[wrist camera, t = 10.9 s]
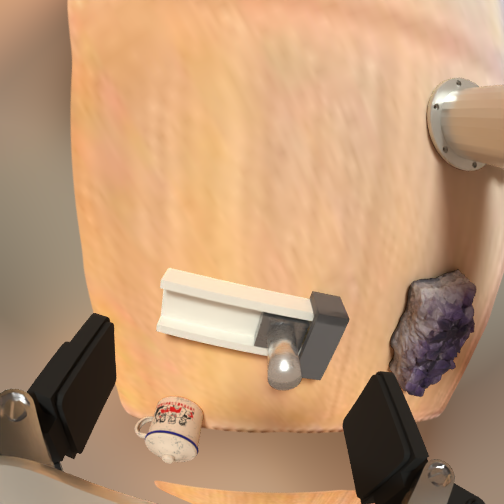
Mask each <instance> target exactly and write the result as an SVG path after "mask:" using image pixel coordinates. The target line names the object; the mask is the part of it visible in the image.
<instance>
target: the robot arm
mask: <svg viewBox="0 0 504 504" xmlns="http://www.w3.org/2000/svg"><path fill="white" fill-rule="evenodd" d="M427 122H428V129H429V134H430V137H431V139H432V142H433V144H434V146H435V148H436V150H437V152H438V153H439V154H440V156H441V157H442V158H443V159H444V160H445V161H446V162H447V163H448V164H450V165H452V166H453V167H455V168H458V169H461V170H465V171H474V170H478V169H480V168H482V167H483V166H485V165H486V164H488V165H492V166H496V167H500V168H504V85H494V86H484V87H479V86H478V85H477V84H475V83H474V82H472V81H470V80H468V79H464V78H452V79H448V80H446V81H443V82H442V83H440V84H439V85H438V86H437V87H436V88H435V90H434V91H433V93H432V95H431V97H430V100H429V104H428V110H427ZM115 382H116V363H115V343H114V324H113V323H111V322H110V319H109V318H108V317H106V316H102V315H99V314H96V313H93V314H92V315H91V316H90V318H89V319H88V320H87V321H86V322H85V324H84V325H83V326H82V327H81V329H80V330H79V331H78V332H77V334H76V335H75V336H74V338H73V339H72V340H71V342H65V343H64V344H63V345H62V346H61V347H60V348H59V349H58V351H57V352H56V353H55V355H54V356H53V357H52V359H51V360H50V361H49V362H48V364H47V365H46V367H45V368H44V370H43V371H42V372H41V373H40V375H39V376H38V377H37V379H36V380H35V381H34V383H33V384H32V386H31V387H30V388H29V390H28V391H27V393H26V392H25V391H23V390H19V389H8V390H5V391H3V392H2V393H0V504H158V503H154V502H150V501H147V500H143V499H139V498H136V497H132V496H130V495H126V494H123V493H120V492H117V491H114V490H111V489H108V488H105V487H102V486H99V485H97V484H94V483H91V482H89V481H86V480H84V479H81V478H79V477H76V476H73V475H71V474H68V473H65V472H64V471H63V468H62V465H61V463H60V461H63V458H64V456H65V455H66V456H68V457H71V458H73V459H74V458H75V456H76V454H77V453H79V454H81V453H82V452H83V449H84V447H85V445H86V443H87V440H88V439H89V436H90V434H91V432H92V430H93V428H94V426H95V424H96V422H97V419H98V417H99V415H100V413H101V411H102V409H103V407H104V405H105V403H106V401H107V399H108V397H109V395H110V393H111V391H112V389H113V387H114V385H115ZM343 430H344V435H345V439H346V444H347V449H348V454H349V459H350V464H351V469H352V474H353V479H354V483H355V489H356V494H357V497H358V498H360V499H361V504H371V503H375V504H485V503H484V502H483V500H481V499H480V498H479V497H477V496H475V495H474V494H472V493H470V492H468V491H466V490H465V489H463V488H461V487H460V486H458V485H456V484H455V483H454V479H455V476H454V472H453V470H452V468H451V467H450V465H449V464H448V463H446V462H445V461H442V460H439V459H434V460H430V461H429V462H428V460H427V457H428V456H429V455H428V452H427V450H426V447H425V445H424V442H423V440H422V437H421V435H420V432H419V430H418V428H417V425H416V422H415V420H414V418H413V415H412V413H411V411H410V408H409V406H408V404H407V401H406V399H405V397H404V394H403V392H402V390H401V388H400V385H399V383H398V381H397V379H396V377H395V375H394V373H392V372H381V371H380V372H377V373H376V375H373V376H372V377H371V378H370V380H369V382H368V383H367V385H366V387H365V388H364V390H363V391H362V393H361V394H360V396H359V398H358V399H357V401H356V402H355V404H354V405H353V407H352V408H351V410H350V411H349V413H348V414H347V416H346V417H345V419H344V421H343Z"/></svg>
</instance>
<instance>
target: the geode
mask: <svg viewBox="0 0 504 504" xmlns="http://www.w3.org/2000/svg"><path fill="white" fill-rule="evenodd" d="M475 293H476V286H475V285H474V284H473V283H471V282H470V281H469V279H468V278H466V277H465V276H464V275H463V274H462V273H461V272H460V271H459V270H456V271H453V272H449V273H446V274H444V275H442V276H439V277H437V278H430V279H420V280H417V281H413V283H412V284H411V286H410V289H409V292H408V302H407V308H406V311H405V312H404V314H403V315H402V316H401V318H400V322H399V324H398V326H397V328H396V330H395V331H394V333H393V335H392V337H391V343H390V344H391V347H392V348H393V349H394V357H393V359H392V361H391V362H390V364H389V366H390V370H391V371H392V373H394V375H395V377H396V378H397V381H398V383H399V384H400V387H401V388H402V389H403V390H404V391H407V392H408V394H410V395H414V396H419V397H421V396H423V394H424V391H425V388H428V386H430V385H431V384H432V385H433V384H435V383H437V382H439V381H440V380H441V376H442V375H443V374H444V373H445V372H447V371H448V370H449V369H454V368H455V367H456V366H455V363H454V361H453V360H454V357H457V352H458V353H460V349H461V347H462V346H463V344H464V343H465V341H466V340H467V339H468V337H469V335H470V333H472V332H474V324H475V323H474V320H473V316H474V309H473V307H472V302H473V298H474V296H475Z"/></svg>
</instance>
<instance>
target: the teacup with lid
mask: <svg viewBox="0 0 504 504" xmlns="http://www.w3.org/2000/svg"><path fill="white" fill-rule="evenodd" d="M202 421H203V412H202V410H201V408H200V407H199V406H198V405H197V404H195V403H194V402H192V401H190V400H188V399H185V398H182V397H176V396H170V397H165V398H163V399H161V400H160V401H159V402H158V404H157V407H156V410H155V413H154V416H148V417H144V418H142V419H141V420H139V421H138V422H137V424H136V426H135V432H136V434H137V435H138V436H139V437H141V438H144V439H145V443H146V446H147V447H148V449H149V450H150V451H151V452H153V453H154V454H155V455H157V456H159V457H161V458H162V460H163V461H164V462H166V463H173V462H174V461H177V462H185V461H190V460H192V459H194V458H195V456H196V455H197V454H198V442H199V436H200V431H201V426H202ZM147 422H151V425H150V428H149V431H148V434H146V433H141V432H139V431H140V428H141V427H142V426H143V425H144V424H145V423H147Z"/></svg>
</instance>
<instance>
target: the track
mask: <svg viewBox="0 0 504 504" xmlns="http://www.w3.org/2000/svg"><path fill="white" fill-rule="evenodd" d="M160 288H162V289H164V291H163V301H162V311H161V317H160V319H159V321H158V323H157V330H156V331H158V332H162V333H166V334H169V335H173V336H177V337H181V338H185V339H189V340H194V341H198V342H202V343H206V344H211V345H215V346H220V347H225V348H229V349H234V350H239V351H244V352H249V353H254V354H260V355H265V356H268V354H267V348H265V347H260V346H254V336H255V333H256V329H257V326H258V323H259V319H260V316H261V312H267V313H272V314H277V315H282V316H287V317H292V318H298V319H303V320H308V321H309V324H310V325H309V326H310V329H309V331H308V334H307V336H306V338H305V341H304V343H303V345H301V347H300V350H299V352H298V355H299V362H300V369H301V376H302V378H307V379H315V380H321V378H322V376H323V374H324V372H325V370H326V368H327V366H328V364H329V362H330V360H331V358H332V356H333V354H334V352H335V350H336V348H337V346H338V343H339V341H340V339H341V337H342V335H343V333H344V331H345V328H346V326H347V324H348V322H349V317H348V314H347V312H346V310H345V307H344V305H343V303H342V300H341V298H340V297H338V296H333V295H328V294H323V293H318V292H313V291H312V294H311V297H310V299H307V298H302V297H297V296H293V295H288V294H283V293H278V292H274V291H269V290H264V289H260V288H255V287H250V286H246V285H241V284H237V283H232V282H228V281H224V280H219V279H215V278H210V277H206V276H202V275H198V274H193V273H189V272H185V271H181V270H176V269H172V268H168V270H167V271H166V273H165V274H164V276H163V277H162V279H161V286H160Z"/></svg>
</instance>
